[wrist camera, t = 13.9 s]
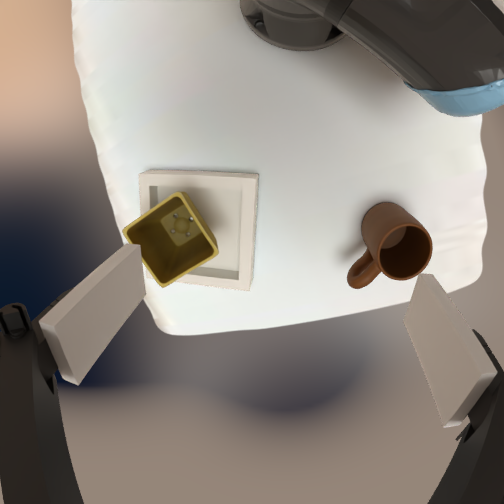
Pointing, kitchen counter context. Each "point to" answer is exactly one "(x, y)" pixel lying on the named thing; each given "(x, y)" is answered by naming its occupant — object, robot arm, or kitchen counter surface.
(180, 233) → the flower pot
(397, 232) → the mug
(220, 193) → the white square tray
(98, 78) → the kitchen counter surface
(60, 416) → the robot arm
